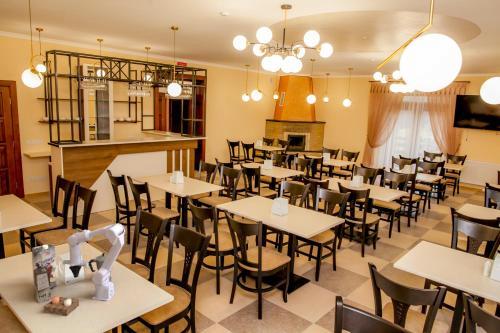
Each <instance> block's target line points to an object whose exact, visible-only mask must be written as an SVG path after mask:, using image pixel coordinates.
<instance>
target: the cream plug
mask: <svg viewBox="0 0 500 333" xmlns="http://www.w3.org/2000/svg"><path fill="white" fill-rule="evenodd" d="M70 305H71V299H66V300H64V306H70Z"/></svg>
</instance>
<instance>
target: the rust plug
mask: <svg viewBox="0 0 500 333" xmlns="http://www.w3.org/2000/svg"><path fill="white" fill-rule="evenodd" d="M59 297H60V296H59V295H54V296H53V297H51V301H52V304H55V305H57V304H58V303H59Z"/></svg>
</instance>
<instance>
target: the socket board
mask: <svg viewBox="0 0 500 333" xmlns="http://www.w3.org/2000/svg"><path fill="white" fill-rule="evenodd" d="M66 299H71V305H70V306H64V300H66ZM79 306H80V299H79V298H71V297H64V296H63V297H62V296H59V303H58V304H57V305H55V304H52V300H51V301H50V300H49V302H48V303H46V304H45V305H43V313H44V314H51V315H52V314H53V315H58V316H63V317H64V316H66V317H67V316H69V315H70V314H71V313H73V311H75V310H76V309H77V308H78V307H79Z"/></svg>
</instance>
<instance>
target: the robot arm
mask: <svg viewBox="0 0 500 333" xmlns="http://www.w3.org/2000/svg"><path fill="white" fill-rule="evenodd" d="M125 232H126V229H125V227H124V225H122V224H121V223H115V224H114V223H113V224H109V225H106V226H103V227H99V228H96V229H94V230H92V231H91V230H89V229H84V230H81V231H80V232H75V233H73V234H72V235H70V236H68V237H67V238H66V243H67V245H68V247H69V259H64V260H63V261H62V264H63V265H69V270H70V271H71V273H72V275H73V278H74V279H77V278H78V277H79V275H80V272H81V269H82V268H83V267H84V268H87V267H89V265H88V262H87V261H84V260H82V243H86V242H88V241H89V242H90V241H91V240H92V239H93V238H94V237H99V236H103V237H104V238H106V239H107V240H108V242H110V243H111V245H112V246H111V247H110V249H109V251H108V253H107V254H106V255H107V257H106V259H105V261H104V263H103V265H102V267H101V268H100V269H99V270H98V269H97V272H95V274H94V275H93V276H92V279H91V280H92V283H93V284H94V285H95V288H94V289H95V294H94V296H93V297H92V298H91V299H92V300H98V301H103V302H104V301H105V302H107V301H110V299H111V298H113V296H114V295H115V284H114V282H112V281H109V277H110V276H111V277H112V270H113V268H112V267H113V265H114V264H115V262H116V260H117V258H118V257H119V254H120V252H121V251H122V249H123V246H124V245H125V234H126V233H125Z"/></svg>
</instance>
